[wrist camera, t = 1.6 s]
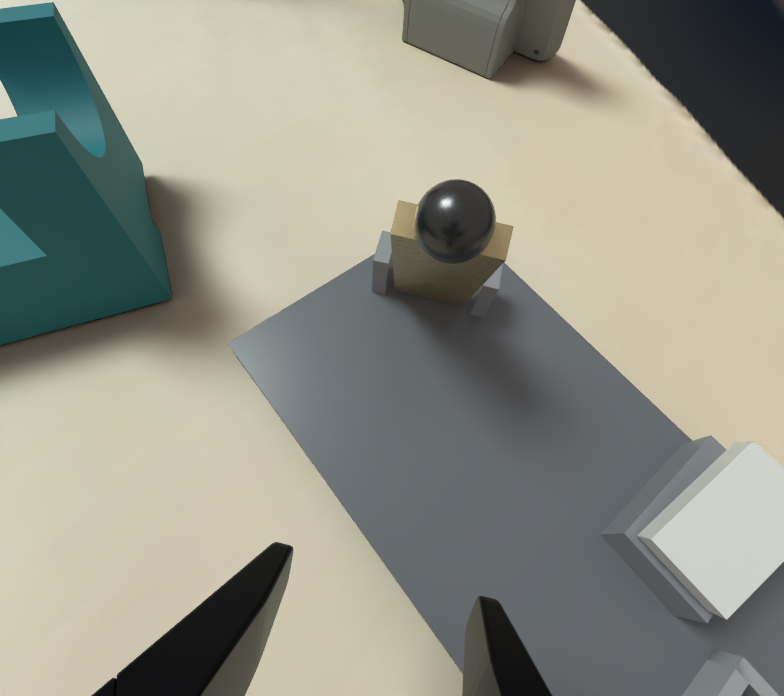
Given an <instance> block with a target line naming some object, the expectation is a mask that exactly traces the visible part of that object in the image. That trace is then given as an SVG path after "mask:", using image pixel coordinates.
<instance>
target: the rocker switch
mask: <svg viewBox="0 0 784 696" xmlns="http://www.w3.org/2000/svg"><path fill="white" fill-rule="evenodd" d="M637 536H638V537H639V538H640V539H641V540H642V541H643V542H644V543H645V544H646V545H647V547H648V548H649V549H650V550H651V551H652V552H653V553H654V554H655V555H656V556H657V557H658V558H659V559H660V561H661V562H662V563H663V564H664V565H665V566H666V567H667V568H668V569H669V570H670V571H671V572H672V573H673V574H674V576H675V577H676V578H677V579H678V580H679V581H680V582H681V583H682V584H683V585H684V586H685V587H686V588H687V589H688V591H689V592H690V593H691V594H692V595H693V596H694V597H695V598H696V599H697V600H698V601H699V602H700V603H701V605H702V606H703V607H704V608H705V609H706V610H707V611H709V612H711V613H713V614H716V615H718V616H720V617H722V618H724V619H726V620H727V619H728V618H729V617H730V616H731V615H732V614H733V613H734V612H735V611H736V610H737V609H738V608H739V607H740V606H741V605H742V604H743V603H744V602H745V601H746V600H747V599H748V598H749V597H750V596H751V595H752V594H753V592H754V591H755V590H756V589H757V588H758V587H759V586H760V585H761V584H762V583H763V582H764V581H765V580H766V579H767V578H768V577H769V576H770V575H771V574H772V573H773V572H774V571H775V570H776V569H777V568H778V567H779V566H780V565H781V564H782V563H783V562H784V468H783V467H782V466H781V465H780V464H779V463H778V462H777V461H776V460H774V459H773V458H772V457H771V456H770V455H769V454H768V453H767V452H766V451H764V450H763V449H762V448H761V447H760V446H759V445H758V444H757V443H756V442H754V441H747V442H738V443H733V444H732V445H731V446H730V447H729V448H728V449H727V450H726V451H725V452H724V453H723V454H722V455H721V456H720V457H719V458H718V459H717V460H716V461H715V462H714V463H712V464H711V465H710V466H709V467H708V468H707V469H706V470H705V471H704V472H703V473H702V474H701V475H700V476H699V477H698V478H697V479H696V480H695V481H694V482H693V483H692V484H690V485H689V486H688V487H687V488H686V489H685V490H684V491H683V492H682V493H681V494H680V495H679V496H678V497H677V498H676V499H675V500H674V501H673V502H672V503H671V504H670V505H668V506H667V507H666V508H665V509H664V510H663V511H662V512H661V513H660V514H659V515H658V516H657V517H656V518H655V519H654V520H653V521H652V522H651V523H650V524H649V525H648V526H646V527H645V528H644V529H643V530H642V531H641V532H640V533H639V534H638V535H637Z"/></svg>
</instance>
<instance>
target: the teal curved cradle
mask: <svg viewBox="0 0 784 696" xmlns="http://www.w3.org/2000/svg"><path fill="white" fill-rule="evenodd" d="M0 80H1V82H2V84H3V86H4V88H5V90H6V92H7V94H8V96H9V98H10V100H11V102H12V104H13V106H14V109H15V111H16V113H17V116H18V117H12V118H6V119H0V345H2V344H6V343H10V342H14V341H17V340H21V339H25V338H28V337H32V336H36V335H40V334H43V333H47V332H51V331H54V330H58V329H62V328H66V327H69V326H73V325H77V324H80V323H84V322H88V321H92V320H95V319H99V318H103V317H106V316H110V315H114V314H118V313H121V312H125V311H129V310H132V309H136V308H140V307H144V306H147V305H151V304H155V303H158V302H162V301H166V300H170V299H172V293H171V288H170V282H169V276H168V270H167V265H166V259H165V253H164V248H163V244H162V239H161V234H160V232H159V230H158V229H157V227H156V225H155V224H154V222H153V220H152V219H151V215H150V209H149V203H148V197H147V191H146V184H145V178H144V172H143V166H142V162H141V161H140V159H139V157H138V155H137V153H136V152H135V150H134V148H133V146H132V144H131V142H130V141H129V139H128V137H127V135H126V133H125V132H124V130H123V128H122V126H121V124H120V122H119V121H118V119H117V117H116V115H115V113H114V112H113V110H112V108H111V106H110V104H109V102H108V101H107V99H106V97H105V95H104V93H103V92H102V90H101V88H100V86H99V84H98V82H97V81H96V79H95V77H94V75H93V73H92V72H91V70H90V68H89V66H88V64H87V62H86V61H85V59H84V57H83V55H82V53H81V52H80V50H79V48H78V46H77V44H76V42H75V41H74V39H73V37H72V35H71V33H70V32H69V30H68V28H67V26H66V24H65V22H64V21H63V19H62V17H61V15H60V13H59V12H58V10H57V8H56V6H55V4H54V2H52V3H44V4H36V5H27V6H19V7H11V8H3V9H0Z"/></svg>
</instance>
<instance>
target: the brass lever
mask: <svg viewBox="0 0 784 696" xmlns="http://www.w3.org/2000/svg"><path fill="white" fill-rule="evenodd" d="M512 230H513V226H510V225H506V224H501V223H497V222H496V216H495V210H494V207H493V204H492V201H491V200H490V198H489V196H488V195H487V194H486V192H485V191H484V190H483V189H481V188H480V187H479V186H477V185H475V184H474V183H471V182H469V181H465V180H448V181H444V182H441V183H439V184H437V185H435V186H434V187H432V188H431V189H430V190H429V191H428V192H427V193H426V194H425V195H424V196H423V197H422V199H421V201H420V202H419V204H418V205H417V204H413V203H409V202H404V201H400V200H399V201H398V205H397V209H396V213H395V217H394V221H393V225H392V229H391V233H390V235H391V248H392V260H393V272H394V284H395V291H398V292H402V293H407V294H411V295H415V296H419V297H424V298H428V299H432V300H436V301H441V302H445V303H449V304H453V305H458V306H462V307H463V306H464V305H465V304H466V303H467V302H468V301H469V299H470V298H471V297H472V296H473V295H474V294H475V293H476V292H477V291H478V290H479V289H480V288H481V286H482V285H483V284H484V283H485V282H486V281H487V280H488V279H489V278H490V277H491V276H492V275H493V273H494V272H495V271H496V270H497V269H498V268H499V267H500V266H501V265H502V264H503V263H504V262H505V260H506V257H507V252H508V248H509V244H510V239H511V235H512Z"/></svg>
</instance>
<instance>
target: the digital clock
mask: <svg viewBox="0 0 784 696" xmlns="http://www.w3.org/2000/svg"><path fill="white" fill-rule="evenodd" d="M402 1H403V2H404V3H405V9H404V21H403V34H402V40H403V41H405V42H407V43H409V44H412V45H414V46H416V47H419V48H421V49H423V50H425V51H428V52H430V53H432V54H434V55H437V56H439V57H441V58H443V59H446V60H448V61H450V62H452V63H455V64H457V65H459V66H461V67H464V68H466V69H468V70H470V71H473V72H475V73H477V74H479V75H482V76H484V77H486V78H489V79H491V78H492V77H493V76H494V74H495V73H496V72H497V71H498V70H499V69H500V67H501V66H502V65H503V64H504V63H505V61H506V60H507V59H508V58H509V57H510V56H511V54H512V53H513V52H514V51H515V52H517V53H520V54H522V55H525V56H527V57H529V58H532V59H535V60H539V61H541V60H547V59H550V58H552V57H553V56H554V55H555V54H556V53H557V51H558V50H559V48H560V46H561V43H562V40H563V37H564V34H565V31H566V28H567V25H568V22H569V19H570V16H571V13H572V10H573V7H574V4H575V1H576V0H402Z"/></svg>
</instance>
